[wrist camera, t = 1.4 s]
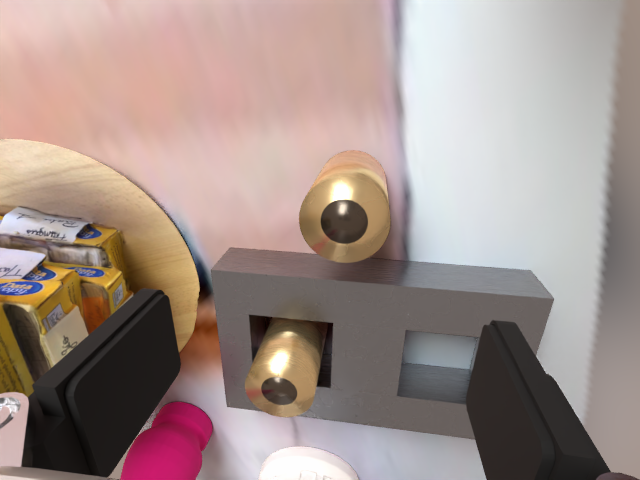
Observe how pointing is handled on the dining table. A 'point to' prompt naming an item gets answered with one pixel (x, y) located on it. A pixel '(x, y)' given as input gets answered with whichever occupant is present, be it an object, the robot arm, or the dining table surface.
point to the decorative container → (305, 465)
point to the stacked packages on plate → (77, 256)
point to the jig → (359, 334)
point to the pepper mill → (170, 445)
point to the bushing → (347, 208)
